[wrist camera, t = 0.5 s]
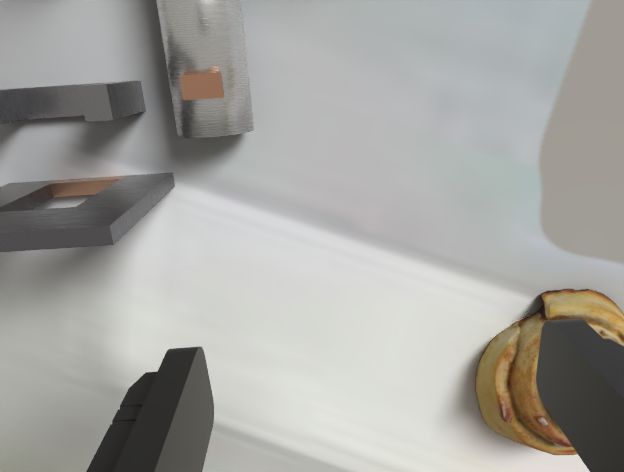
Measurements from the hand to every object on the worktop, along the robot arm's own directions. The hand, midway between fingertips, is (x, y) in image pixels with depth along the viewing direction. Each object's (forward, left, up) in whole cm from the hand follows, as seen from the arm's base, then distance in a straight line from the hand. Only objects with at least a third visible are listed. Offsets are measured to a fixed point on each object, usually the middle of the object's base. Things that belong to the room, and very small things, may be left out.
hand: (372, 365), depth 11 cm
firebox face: (+1, -17, -25) cm, 30 cm away
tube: (-11, -7, -25) cm, 28 cm away
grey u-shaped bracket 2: (-5, -17, -25) cm, 31 cm away
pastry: (+19, +19, -25) cm, 37 cm away
